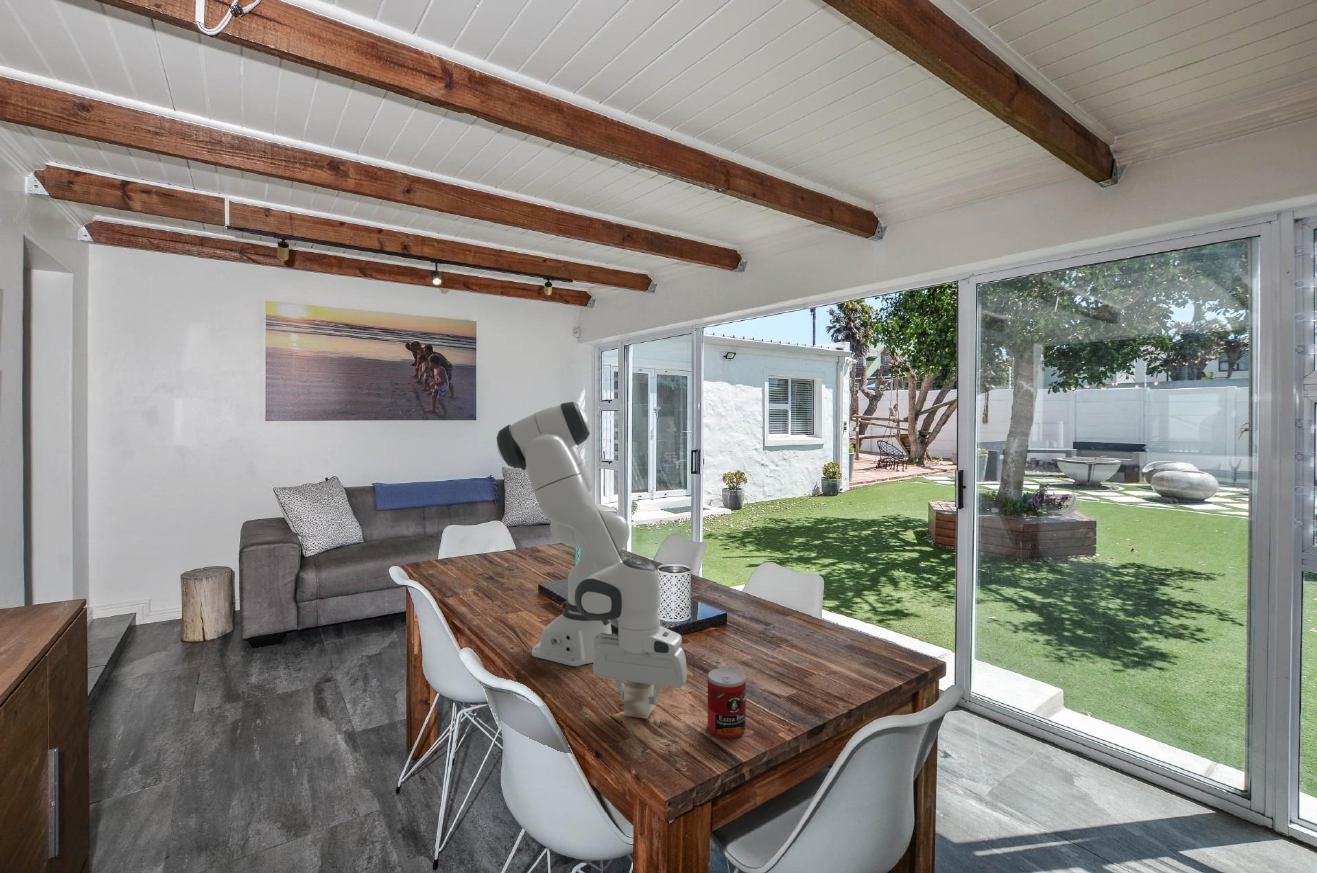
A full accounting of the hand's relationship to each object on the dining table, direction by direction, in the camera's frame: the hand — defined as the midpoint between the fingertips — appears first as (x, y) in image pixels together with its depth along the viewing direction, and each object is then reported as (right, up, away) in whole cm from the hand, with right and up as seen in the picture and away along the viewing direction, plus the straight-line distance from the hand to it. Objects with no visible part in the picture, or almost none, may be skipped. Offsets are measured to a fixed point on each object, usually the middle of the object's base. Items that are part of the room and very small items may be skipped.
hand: (639, 701), depth 126 cm
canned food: (+18, -3, -6) cm, 19 cm away
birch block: (0, -2, 0) cm, 2 cm away
